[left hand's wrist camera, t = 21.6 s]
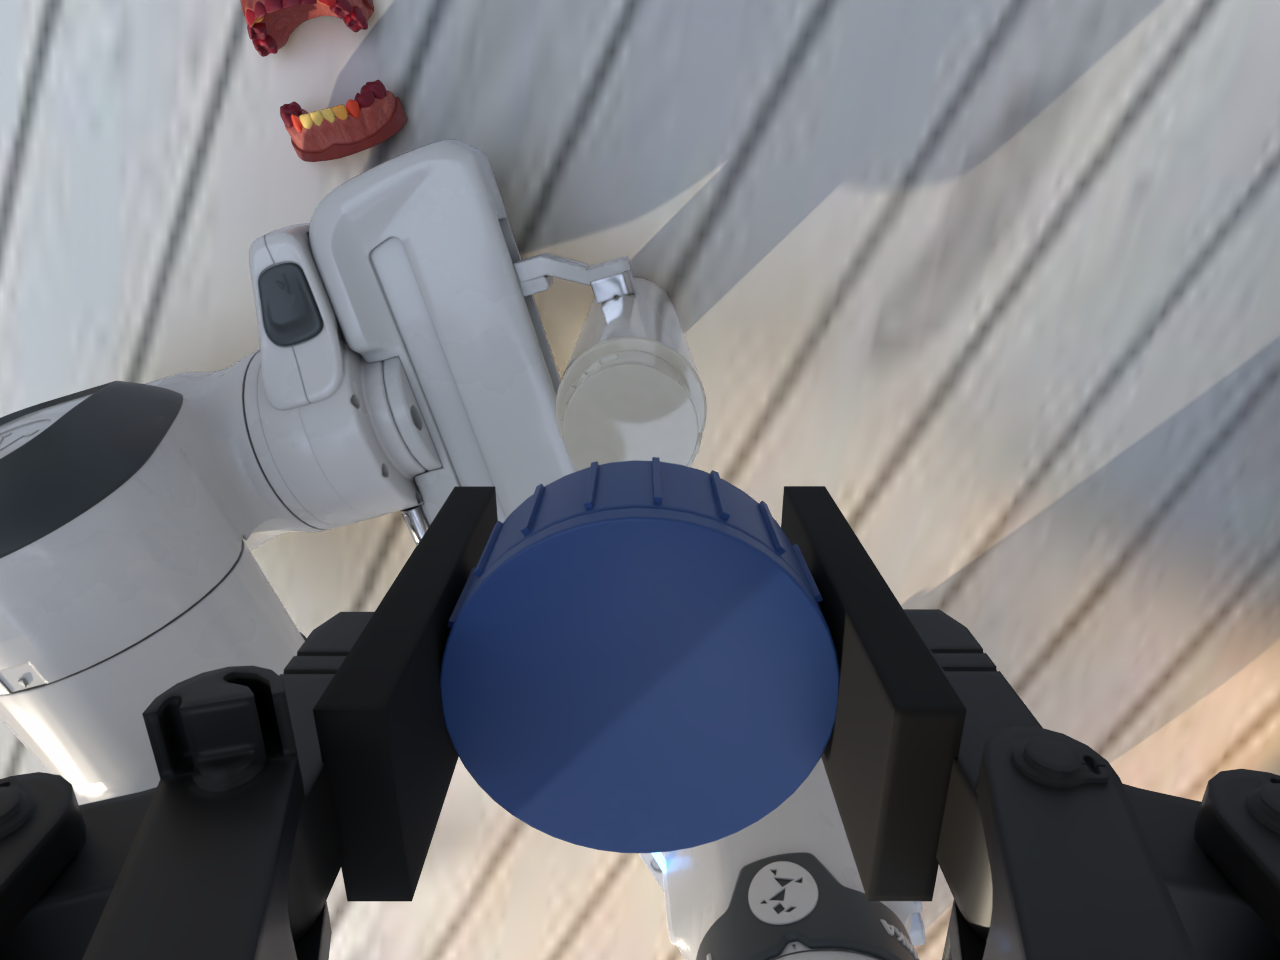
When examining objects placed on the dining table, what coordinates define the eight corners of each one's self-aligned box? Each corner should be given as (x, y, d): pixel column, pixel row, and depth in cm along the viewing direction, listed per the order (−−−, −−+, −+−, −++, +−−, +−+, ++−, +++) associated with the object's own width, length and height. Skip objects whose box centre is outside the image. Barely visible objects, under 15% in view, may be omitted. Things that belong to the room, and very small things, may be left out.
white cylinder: (580, 357, 41) (536, 492, 22) (596, 268, 39) (562, 334, 21) (666, 374, 41) (692, 520, 23) (685, 287, 40) (730, 367, 21)
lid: (795, 427, 11) (831, 480, 9) (824, 730, 13) (860, 833, 11) (431, 483, 12) (385, 547, 9) (512, 772, 13) (488, 879, 11)
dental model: (273, 170, 33) (199, -37, 31) (308, 175, 37) (245, -9, 35) (396, 141, 33) (332, -71, 31) (418, 149, 37) (363, -38, 35)
